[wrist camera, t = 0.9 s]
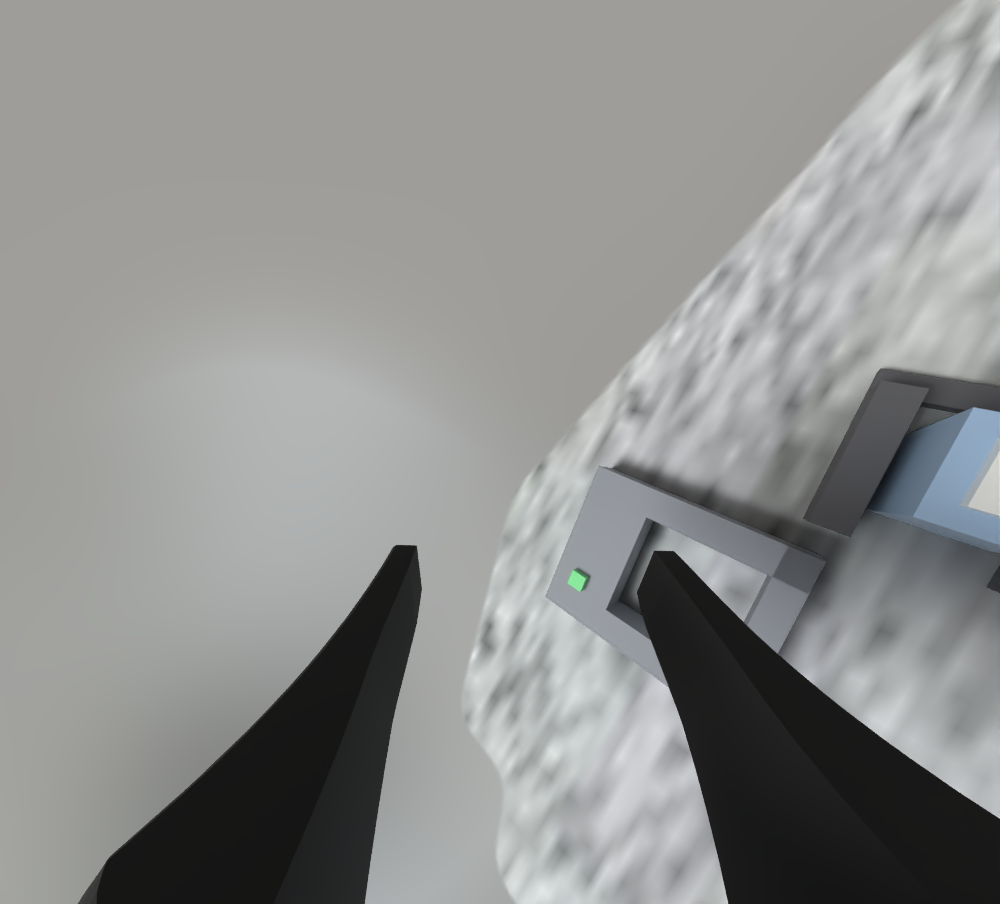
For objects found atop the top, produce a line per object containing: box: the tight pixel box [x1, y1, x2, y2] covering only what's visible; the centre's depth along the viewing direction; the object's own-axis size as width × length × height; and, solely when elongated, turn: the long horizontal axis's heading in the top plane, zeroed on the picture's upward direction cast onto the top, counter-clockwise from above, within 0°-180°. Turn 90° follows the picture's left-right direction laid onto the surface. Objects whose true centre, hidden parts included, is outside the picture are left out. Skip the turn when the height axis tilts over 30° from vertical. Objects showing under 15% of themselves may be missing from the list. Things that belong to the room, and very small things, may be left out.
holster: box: [804, 368, 1000, 593], centre depth 15 cm, size 8×8×3 cm
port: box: [545, 466, 826, 687], centre depth 22 cm, size 12×10×3 cm
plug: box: [865, 407, 1000, 554], centre depth 13 cm, size 4×4×8 cm
